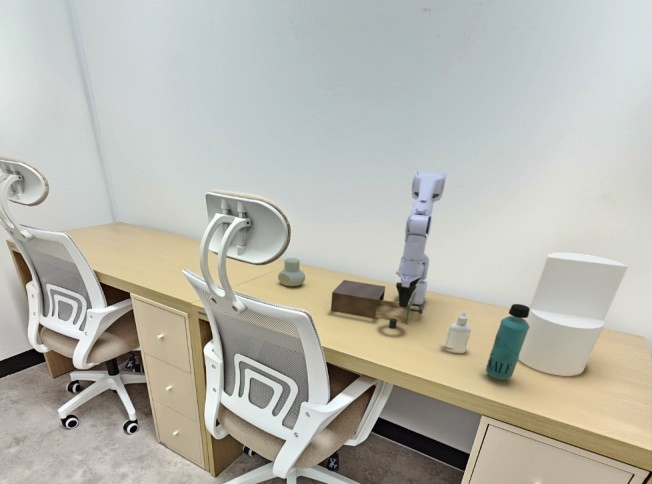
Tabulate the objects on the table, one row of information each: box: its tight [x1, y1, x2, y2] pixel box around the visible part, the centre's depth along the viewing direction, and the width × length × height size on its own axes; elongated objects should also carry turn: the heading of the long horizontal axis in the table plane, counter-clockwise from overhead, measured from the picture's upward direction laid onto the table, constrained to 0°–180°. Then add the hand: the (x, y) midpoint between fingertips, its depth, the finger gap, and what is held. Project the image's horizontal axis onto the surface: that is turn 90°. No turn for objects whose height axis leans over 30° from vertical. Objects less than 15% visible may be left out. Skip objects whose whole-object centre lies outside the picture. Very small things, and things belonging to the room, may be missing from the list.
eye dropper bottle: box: [444, 311, 472, 354], centre depth 111 cm, size 4×6×12 cm
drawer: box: [375, 292, 426, 325], centre depth 131 cm, size 18×14×7 cm
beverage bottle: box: [485, 303, 530, 380], centre depth 96 cm, size 6×7×20 cm
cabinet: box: [330, 279, 387, 319], centre depth 135 cm, size 15×14×8 cm
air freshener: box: [277, 257, 306, 288], centre depth 156 cm, size 11×8×10 cm
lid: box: [388, 318, 398, 330], centre depth 122 cm, size 7×7×4 cm
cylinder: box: [518, 251, 629, 377], centre depth 104 cm, size 17×17×28 cm
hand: (405, 302), depth 120 cm, fingers open, 7 cm apart
